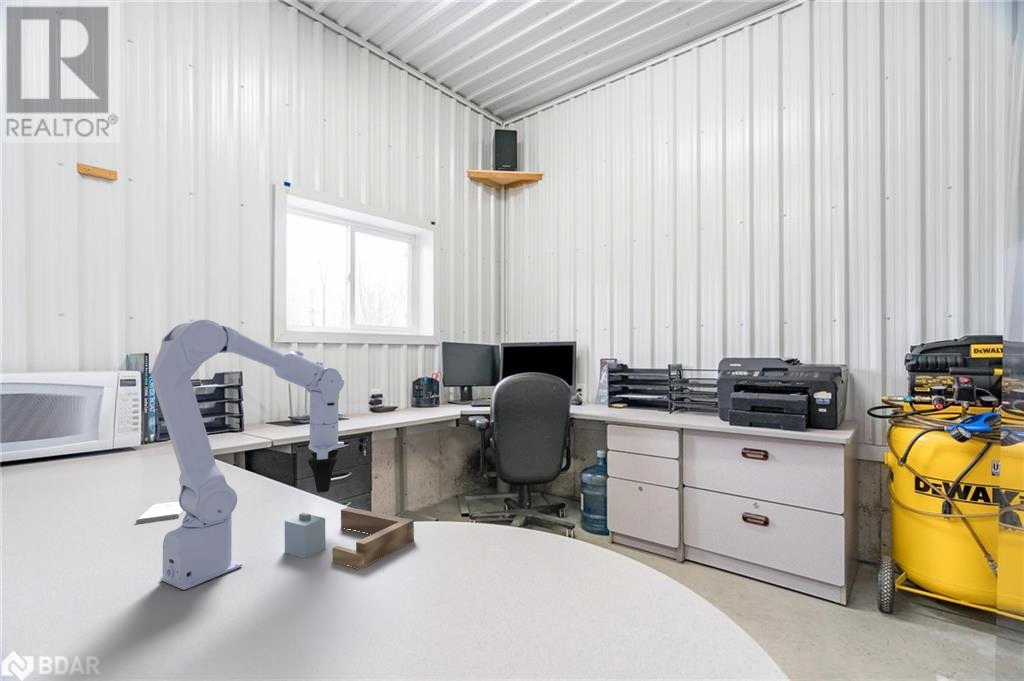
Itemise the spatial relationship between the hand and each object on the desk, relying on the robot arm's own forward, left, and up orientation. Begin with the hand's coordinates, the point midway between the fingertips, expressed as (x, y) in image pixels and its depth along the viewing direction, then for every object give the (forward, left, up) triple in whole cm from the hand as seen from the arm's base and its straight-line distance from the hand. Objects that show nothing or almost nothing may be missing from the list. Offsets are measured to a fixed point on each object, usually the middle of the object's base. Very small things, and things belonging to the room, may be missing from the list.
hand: (323, 487), depth 95 cm
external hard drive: (-9, +48, -10) cm, 50 cm away
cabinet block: (-8, -5, -10) cm, 13 cm away
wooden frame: (-2, -11, -10) cm, 15 cm away
